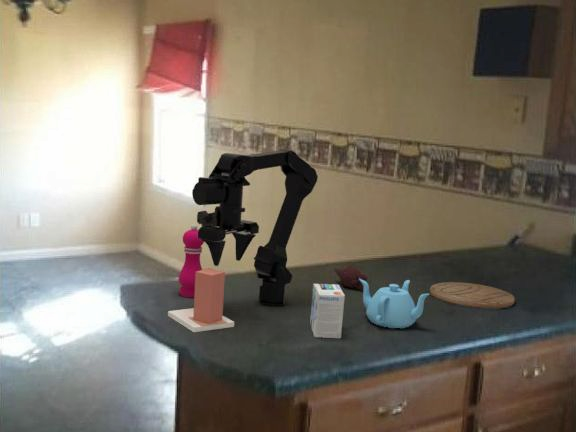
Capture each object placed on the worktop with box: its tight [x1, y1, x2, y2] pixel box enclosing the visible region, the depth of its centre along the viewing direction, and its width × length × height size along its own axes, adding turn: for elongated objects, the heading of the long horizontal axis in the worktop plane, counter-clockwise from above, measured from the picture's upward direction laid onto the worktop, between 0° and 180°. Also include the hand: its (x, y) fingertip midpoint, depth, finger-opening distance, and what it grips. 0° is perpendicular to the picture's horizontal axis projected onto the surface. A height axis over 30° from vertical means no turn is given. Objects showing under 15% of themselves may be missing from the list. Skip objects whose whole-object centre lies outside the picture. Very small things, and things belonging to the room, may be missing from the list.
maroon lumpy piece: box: [333, 265, 368, 292], centre depth 224 cm, size 7×7×15 cm
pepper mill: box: [178, 223, 205, 298], centre depth 202 cm, size 7×7×20 cm
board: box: [167, 307, 235, 333], centre depth 180 cm, size 14×11×1 cm
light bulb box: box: [309, 283, 346, 339], centre depth 179 cm, size 11×7×11 cm, turn 5°
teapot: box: [359, 279, 430, 329], centre depth 190 cm, size 15×15×10 cm
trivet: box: [429, 281, 516, 308], centre depth 222 cm, size 25×25×2 cm
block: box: [193, 267, 226, 324], centre depth 176 cm, size 5×5×12 cm
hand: (227, 263), depth 188 cm, fingers open, 9 cm apart
